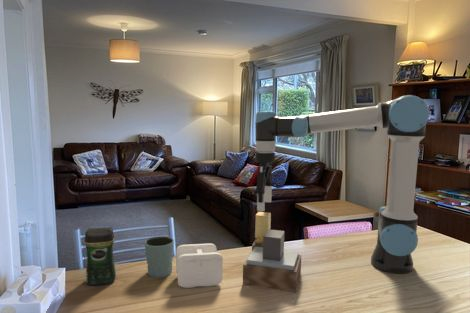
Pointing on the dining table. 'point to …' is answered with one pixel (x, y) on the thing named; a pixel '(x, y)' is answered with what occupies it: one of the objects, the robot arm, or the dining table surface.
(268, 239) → the cover
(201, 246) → the white rounded double-panel block
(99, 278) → the coffee jar
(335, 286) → the dining table surface
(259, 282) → the walnut box
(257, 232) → the pale yellow upright block
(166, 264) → the teal cup
